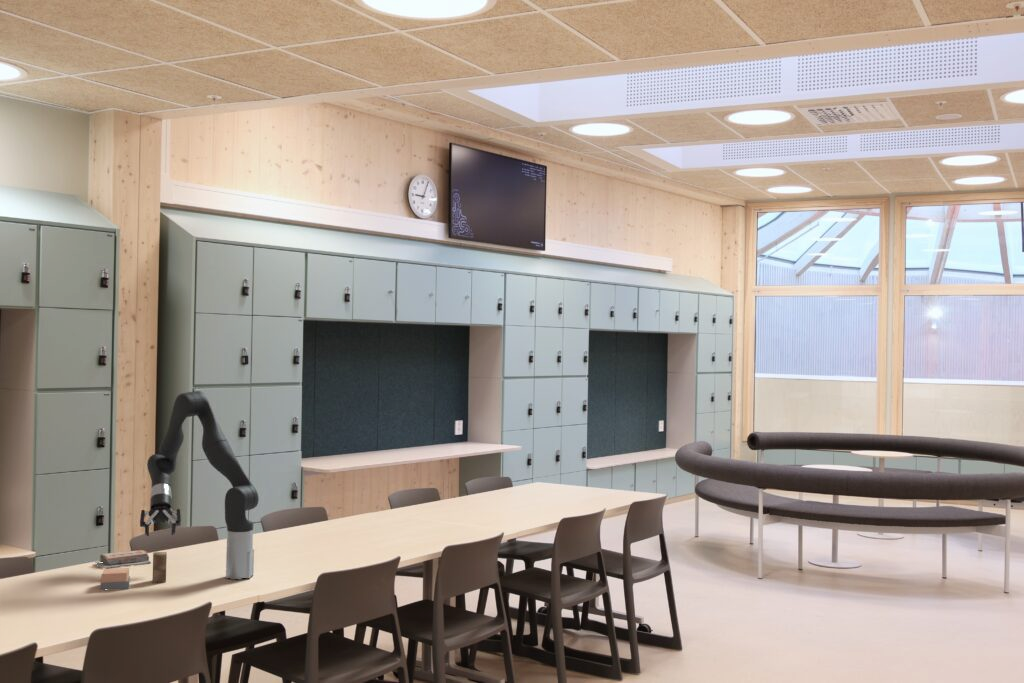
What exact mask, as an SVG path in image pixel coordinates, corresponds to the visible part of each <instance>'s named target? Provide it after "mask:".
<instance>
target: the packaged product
mask: <svg viewBox="0 0 1024 683" xmlns="http://www.w3.org/2000/svg"><path fill="white" fill-rule="evenodd" d="M99 558H100V560H95V563H97V564H95V565H96V566H97V565H98V566H99V567H98V566H97V567H98V568H100V567H101V568H108V569H112V568H111V567H117V568H121V567H120V566H126V567H132V566H131V565H134V566H142V565H150V564H151V561H150V557H149V554H148V552H147V551H146V550H143V549H139V550H129V551H120V552H119V551H118V552H108V553H102V554H100V557H99ZM99 562H103V563H99ZM141 564H142V565H141ZM101 568H100V569H101Z"/></svg>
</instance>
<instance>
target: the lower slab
mask: <svg viewBox="0 0 1024 683" xmlns="http://www.w3.org/2000/svg"><path fill="white" fill-rule="evenodd" d="M130 579H131V576H130V575H129V578H128V580H127V582H108V583H101V582H102V579H101V581H100V590H103V591H106V590H105V589H121V590H129V588H130V584H129V583H130V582H131V580H130Z"/></svg>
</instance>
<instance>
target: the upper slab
mask: <svg viewBox="0 0 1024 683" xmlns="http://www.w3.org/2000/svg"><path fill="white" fill-rule="evenodd" d="M129 576H130V567H117V568H108V569H103V570H102V573H101V580H102V582H101V581H100V584H101V583H108V582H127V580H128V578H129Z"/></svg>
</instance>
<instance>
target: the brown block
mask: <svg viewBox="0 0 1024 683" xmlns="http://www.w3.org/2000/svg"><path fill="white" fill-rule="evenodd" d="M152 557H153V558H152V584H162V583H161V582H166V583H167V557H168V556H167V551H155V552H153V553H152Z"/></svg>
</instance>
